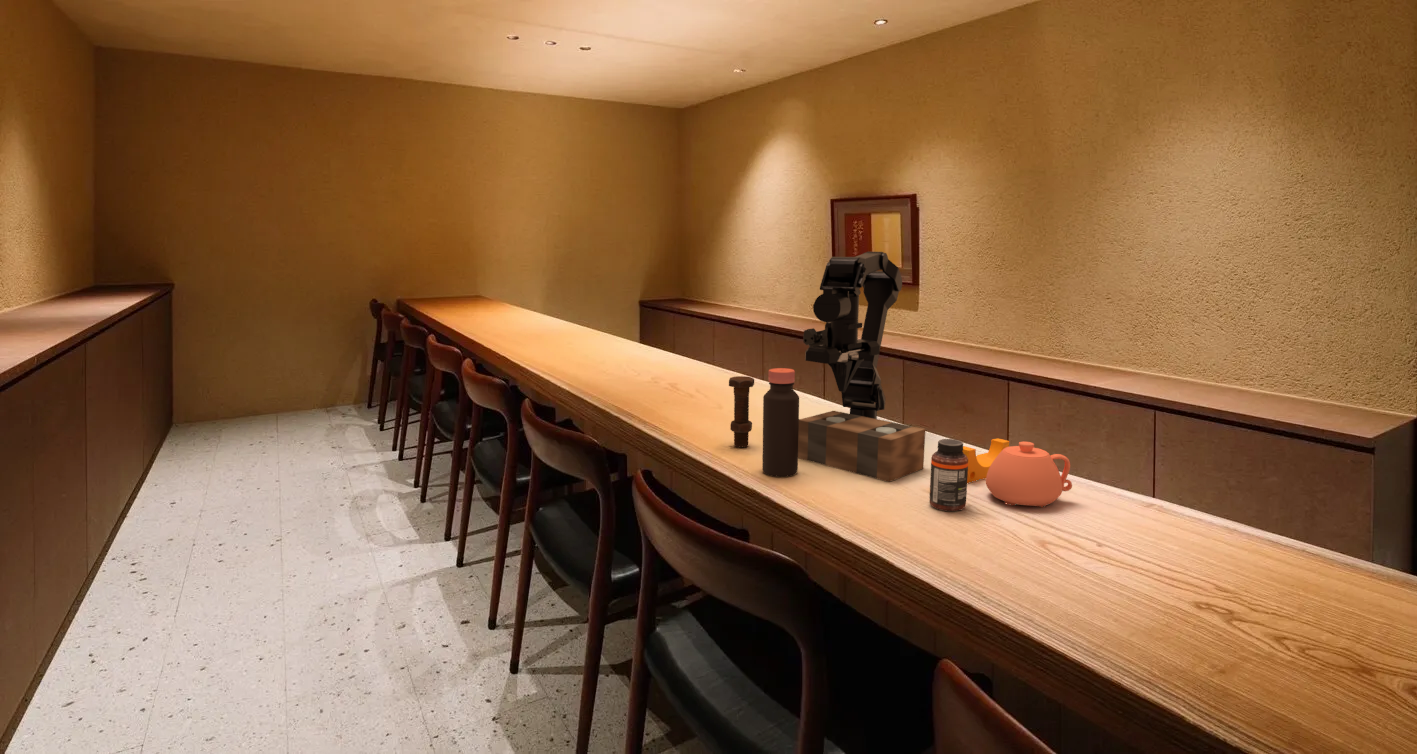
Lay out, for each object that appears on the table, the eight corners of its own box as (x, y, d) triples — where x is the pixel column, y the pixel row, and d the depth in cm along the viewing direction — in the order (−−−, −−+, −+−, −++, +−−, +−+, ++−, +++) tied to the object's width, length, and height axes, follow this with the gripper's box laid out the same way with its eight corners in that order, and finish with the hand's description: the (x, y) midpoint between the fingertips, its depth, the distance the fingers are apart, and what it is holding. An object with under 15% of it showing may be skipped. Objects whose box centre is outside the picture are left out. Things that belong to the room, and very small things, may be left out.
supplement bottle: (935, 498, 134) (938, 435, 132) (970, 504, 130) (974, 440, 128) (923, 507, 129) (927, 442, 127) (959, 515, 126) (963, 448, 123)
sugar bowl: (979, 486, 140) (983, 432, 138) (1060, 490, 138) (1065, 435, 136) (991, 509, 128) (995, 450, 126) (1081, 515, 126) (1086, 455, 124)
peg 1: (832, 448, 161) (833, 415, 160) (847, 452, 158) (848, 418, 157) (821, 451, 158) (822, 418, 157) (836, 455, 156) (837, 422, 154)
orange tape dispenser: (987, 468, 152) (990, 436, 150) (1006, 473, 148) (1009, 441, 147) (947, 478, 145) (949, 445, 144) (966, 484, 141) (968, 450, 140)
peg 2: (881, 460, 152) (883, 426, 151) (898, 464, 150) (899, 429, 148) (870, 464, 150) (872, 429, 148) (887, 468, 147) (888, 432, 146)
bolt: (750, 450, 163) (751, 381, 160) (727, 449, 164) (727, 380, 161) (754, 443, 169) (755, 376, 166) (731, 442, 170) (732, 375, 167)
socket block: (832, 446, 166) (833, 410, 165) (923, 468, 150) (925, 428, 149) (797, 457, 158) (797, 419, 156) (889, 482, 142) (890, 440, 141)
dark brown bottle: (769, 465, 153) (771, 366, 149) (802, 469, 150) (804, 368, 146) (757, 474, 147) (758, 371, 143) (790, 479, 144) (792, 374, 140)
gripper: (839, 312, 172) (837, 380, 174) (785, 318, 159) (784, 392, 162) (882, 315, 164) (879, 387, 166) (828, 322, 151) (826, 400, 154)
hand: (842, 391), depth 162 cm, fingers closed
